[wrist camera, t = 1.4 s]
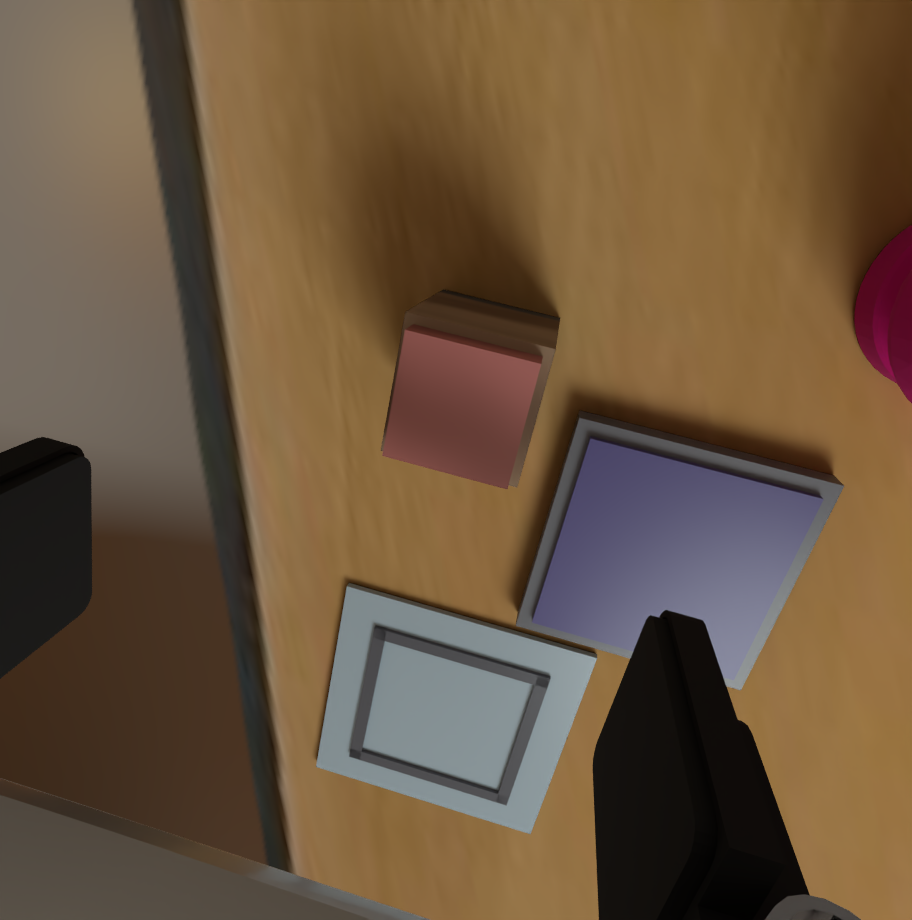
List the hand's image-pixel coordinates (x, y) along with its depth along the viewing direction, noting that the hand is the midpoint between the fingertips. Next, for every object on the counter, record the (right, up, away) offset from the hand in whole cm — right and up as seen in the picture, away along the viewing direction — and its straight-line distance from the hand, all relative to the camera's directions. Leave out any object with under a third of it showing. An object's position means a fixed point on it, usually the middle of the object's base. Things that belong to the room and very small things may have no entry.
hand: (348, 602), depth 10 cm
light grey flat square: (+1, -10, +22) cm, 24 cm away
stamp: (+3, +6, +15) cm, 16 cm away
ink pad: (+10, -1, +16) cm, 19 cm away
